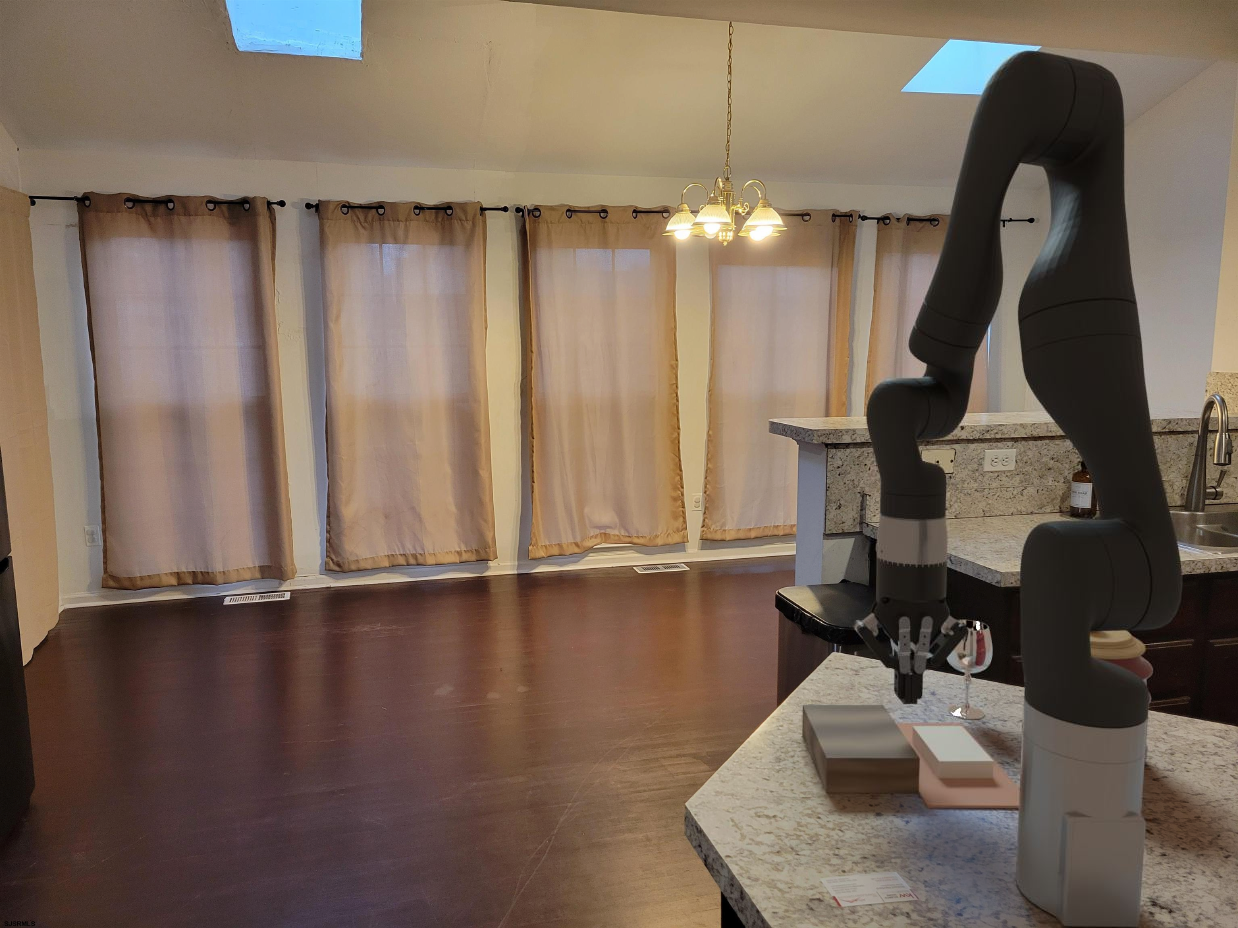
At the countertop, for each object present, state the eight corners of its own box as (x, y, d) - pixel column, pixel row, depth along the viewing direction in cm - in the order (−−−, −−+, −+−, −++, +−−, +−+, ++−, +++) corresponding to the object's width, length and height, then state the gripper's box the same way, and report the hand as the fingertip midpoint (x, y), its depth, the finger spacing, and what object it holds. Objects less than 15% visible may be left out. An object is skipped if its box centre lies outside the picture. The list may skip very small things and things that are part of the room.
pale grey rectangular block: (939, 761, 92) (938, 777, 92) (993, 760, 92) (992, 777, 92) (912, 725, 101) (912, 741, 101) (962, 725, 101) (961, 741, 101)
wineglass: (997, 721, 107) (1001, 632, 106) (952, 721, 107) (955, 632, 106) (979, 703, 113) (982, 618, 112) (936, 703, 113) (939, 618, 112)
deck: (918, 792, 90) (919, 758, 89) (826, 792, 90) (826, 757, 90) (882, 735, 104) (883, 704, 103) (802, 735, 104) (802, 704, 104)
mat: (1034, 808, 87) (1034, 805, 86) (928, 807, 87) (928, 804, 87) (962, 725, 106) (962, 722, 106) (875, 724, 107) (876, 722, 107)
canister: (1106, 730, 104) (1114, 594, 102) (1172, 782, 91) (1183, 628, 89) (1002, 730, 105) (1008, 595, 103) (1053, 782, 92) (1061, 628, 90)
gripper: (861, 562, 90) (859, 715, 92) (984, 561, 90) (979, 714, 92) (844, 548, 98) (842, 689, 99) (957, 547, 97) (953, 689, 99)
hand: (908, 701), depth 96 cm, fingers closed
